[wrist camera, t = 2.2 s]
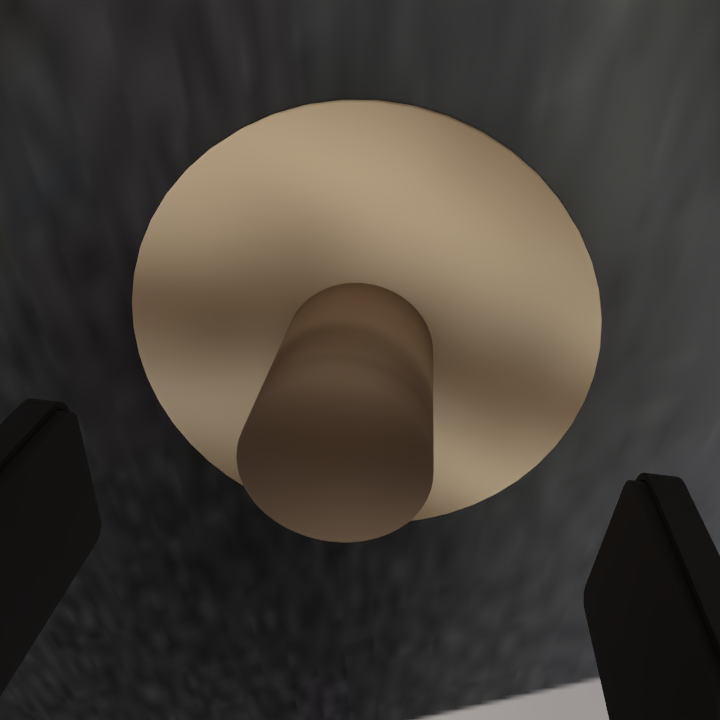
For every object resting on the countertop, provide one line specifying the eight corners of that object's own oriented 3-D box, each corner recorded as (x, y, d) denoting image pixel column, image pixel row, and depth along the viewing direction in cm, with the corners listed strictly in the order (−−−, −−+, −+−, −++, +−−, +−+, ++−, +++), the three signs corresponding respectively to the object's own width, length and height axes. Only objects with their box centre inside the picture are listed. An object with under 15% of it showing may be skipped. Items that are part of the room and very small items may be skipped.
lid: (539, 526, 20) (575, 697, 15) (165, 482, 21) (82, 631, 16) (656, 120, 14) (783, 183, 9) (115, 76, 15) (-50, 111, 10)
